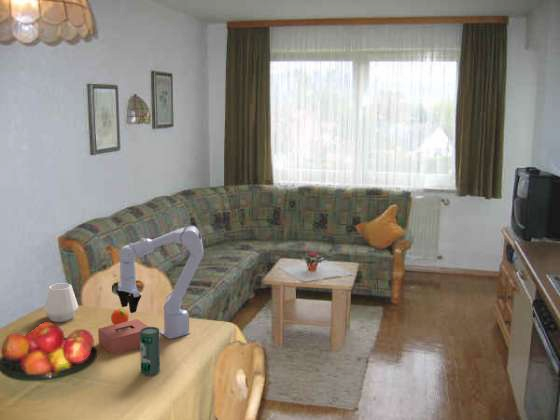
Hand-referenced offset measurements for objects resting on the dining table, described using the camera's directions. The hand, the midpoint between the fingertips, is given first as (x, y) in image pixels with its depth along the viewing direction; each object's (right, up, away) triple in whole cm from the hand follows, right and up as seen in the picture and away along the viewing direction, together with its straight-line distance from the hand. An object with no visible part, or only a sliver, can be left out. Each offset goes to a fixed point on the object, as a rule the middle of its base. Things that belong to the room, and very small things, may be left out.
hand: (128, 309), depth 221 cm
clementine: (-6, -9, +10) cm, 15 cm away
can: (+15, -17, -28) cm, 36 cm away
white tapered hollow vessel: (-33, -7, +17) cm, 38 cm away
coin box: (0, -12, -6) cm, 13 cm away
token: (0, -11, -7) cm, 13 cm away
